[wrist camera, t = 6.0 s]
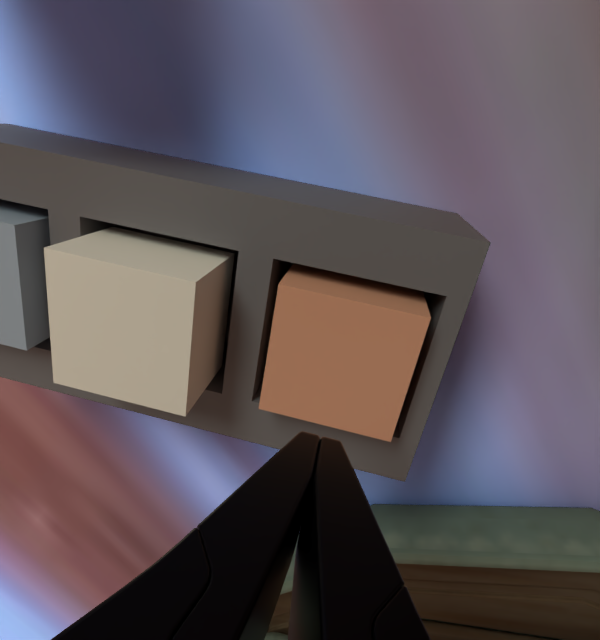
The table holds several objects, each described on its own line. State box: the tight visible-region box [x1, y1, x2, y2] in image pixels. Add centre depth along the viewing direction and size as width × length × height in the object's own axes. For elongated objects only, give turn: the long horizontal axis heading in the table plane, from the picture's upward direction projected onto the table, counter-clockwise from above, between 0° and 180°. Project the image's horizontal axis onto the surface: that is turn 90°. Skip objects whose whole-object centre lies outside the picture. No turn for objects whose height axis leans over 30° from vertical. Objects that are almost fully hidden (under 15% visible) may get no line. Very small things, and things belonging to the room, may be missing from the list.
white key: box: [44, 227, 235, 417], centre depth 13 cm, size 4×4×3 cm
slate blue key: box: [0, 199, 50, 351], centre depth 14 cm, size 4×4×3 cm
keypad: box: [0, 124, 490, 482], centre depth 15 cm, size 18×8×5 cm, turn 80°
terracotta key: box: [259, 263, 431, 442], centre depth 13 cm, size 4×4×3 cm
